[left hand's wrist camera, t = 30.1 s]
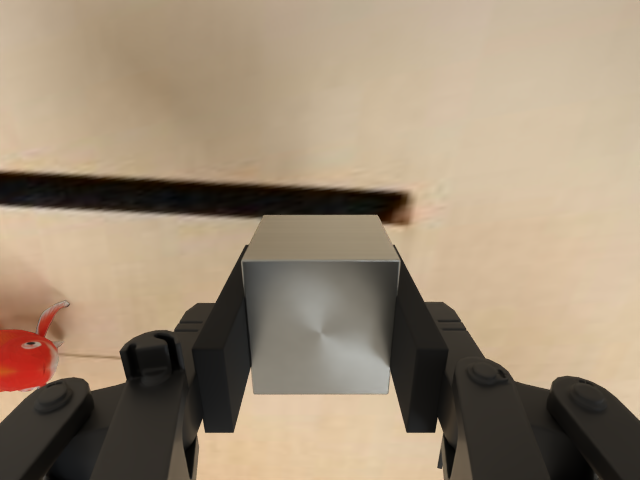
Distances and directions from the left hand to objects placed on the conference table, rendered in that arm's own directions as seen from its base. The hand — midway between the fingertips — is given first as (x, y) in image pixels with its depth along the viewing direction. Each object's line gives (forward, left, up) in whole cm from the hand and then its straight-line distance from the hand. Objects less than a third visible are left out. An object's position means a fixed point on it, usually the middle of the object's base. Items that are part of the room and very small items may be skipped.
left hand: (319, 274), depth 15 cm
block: (0, 0, 0) cm, 0 cm away
